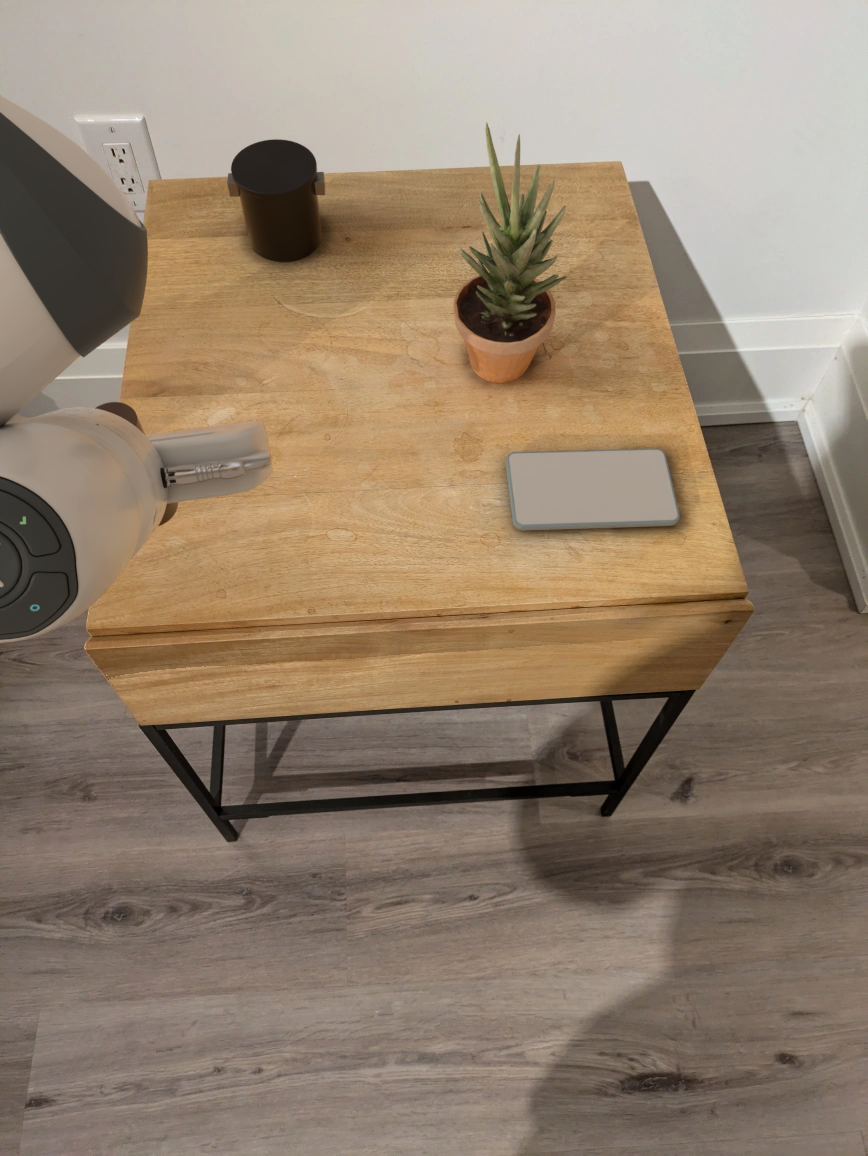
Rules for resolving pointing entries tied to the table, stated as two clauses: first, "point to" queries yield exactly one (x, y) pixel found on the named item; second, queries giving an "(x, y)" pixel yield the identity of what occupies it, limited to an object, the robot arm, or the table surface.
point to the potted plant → (508, 281)
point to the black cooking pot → (279, 198)
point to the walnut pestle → (131, 416)
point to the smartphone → (591, 489)
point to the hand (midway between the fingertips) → (130, 456)
